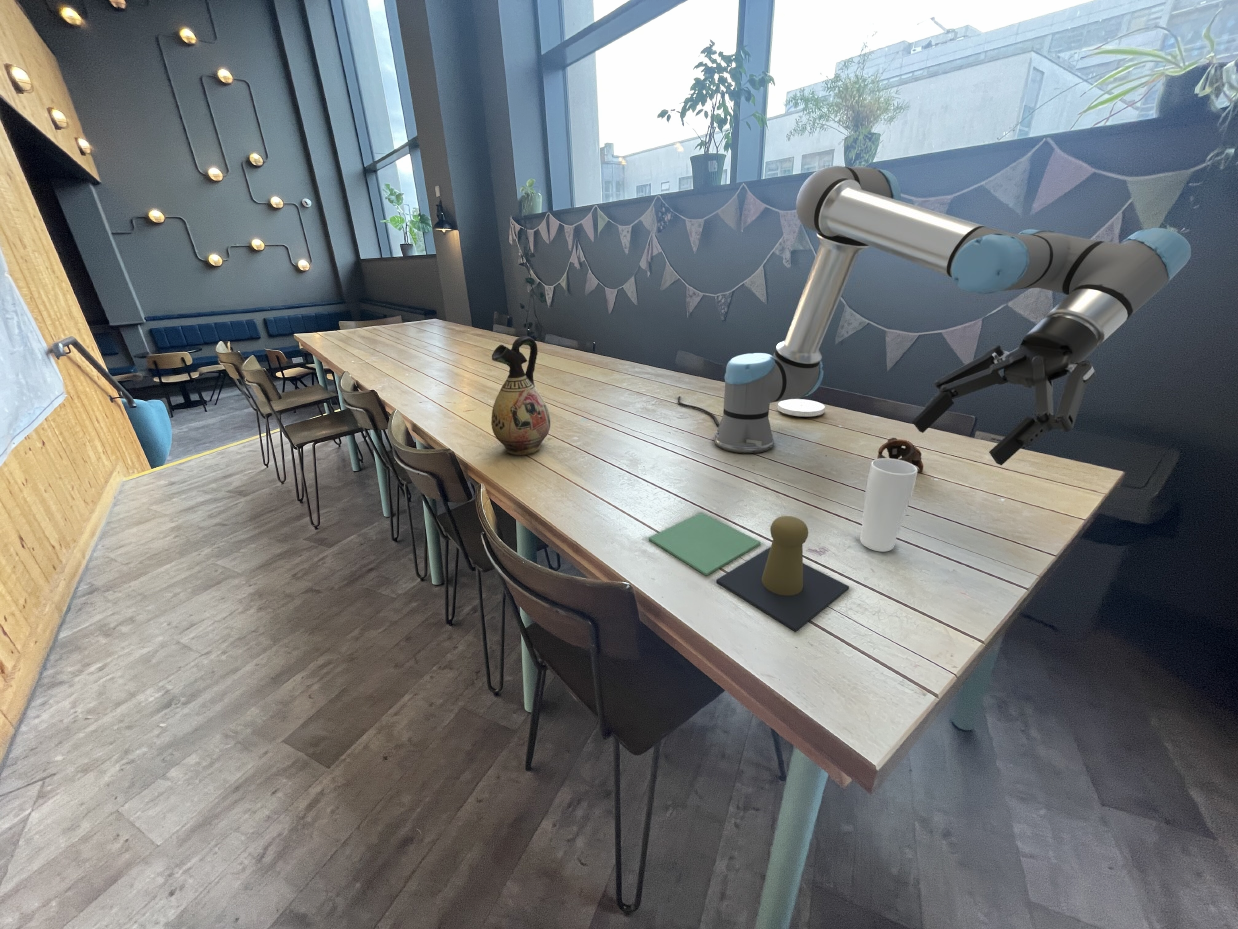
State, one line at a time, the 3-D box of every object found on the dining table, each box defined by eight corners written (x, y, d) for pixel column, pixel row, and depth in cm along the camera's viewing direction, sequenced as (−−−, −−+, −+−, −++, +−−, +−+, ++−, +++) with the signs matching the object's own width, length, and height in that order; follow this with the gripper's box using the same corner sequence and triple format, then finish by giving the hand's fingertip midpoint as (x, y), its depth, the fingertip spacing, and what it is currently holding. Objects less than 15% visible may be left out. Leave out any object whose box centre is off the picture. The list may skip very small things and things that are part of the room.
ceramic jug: (513, 465, 118) (498, 344, 106) (485, 449, 129) (468, 338, 117) (568, 447, 128) (560, 335, 116) (538, 434, 139) (527, 330, 127)
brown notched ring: (933, 480, 105) (927, 453, 100) (888, 494, 108) (880, 469, 104) (910, 447, 114) (904, 422, 110) (869, 461, 117) (862, 438, 113)
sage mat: (648, 539, 85) (648, 537, 85) (701, 514, 93) (701, 512, 93) (706, 576, 75) (706, 573, 75) (760, 544, 83) (760, 541, 82)
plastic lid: (799, 422, 142) (800, 414, 141) (768, 410, 154) (768, 402, 153) (833, 415, 147) (835, 407, 146) (801, 404, 159) (802, 397, 158)
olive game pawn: (759, 590, 71) (766, 527, 66) (763, 567, 76) (770, 507, 71) (802, 599, 68) (812, 535, 64) (803, 575, 74) (813, 514, 69)
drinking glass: (897, 560, 77) (917, 477, 71) (852, 548, 81) (868, 469, 75) (899, 540, 82) (919, 462, 76) (857, 530, 86) (873, 454, 80)
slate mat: (716, 582, 73) (716, 579, 73) (770, 549, 81) (770, 546, 81) (795, 632, 63) (796, 629, 63) (848, 589, 71) (849, 586, 71)
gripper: (1190, 366, 57) (1047, 492, 60) (998, 337, 79) (902, 430, 82) (1176, 323, 54) (1026, 458, 57) (980, 306, 76) (881, 403, 79)
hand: (952, 441), depth 70 cm, fingers open, 13 cm apart
